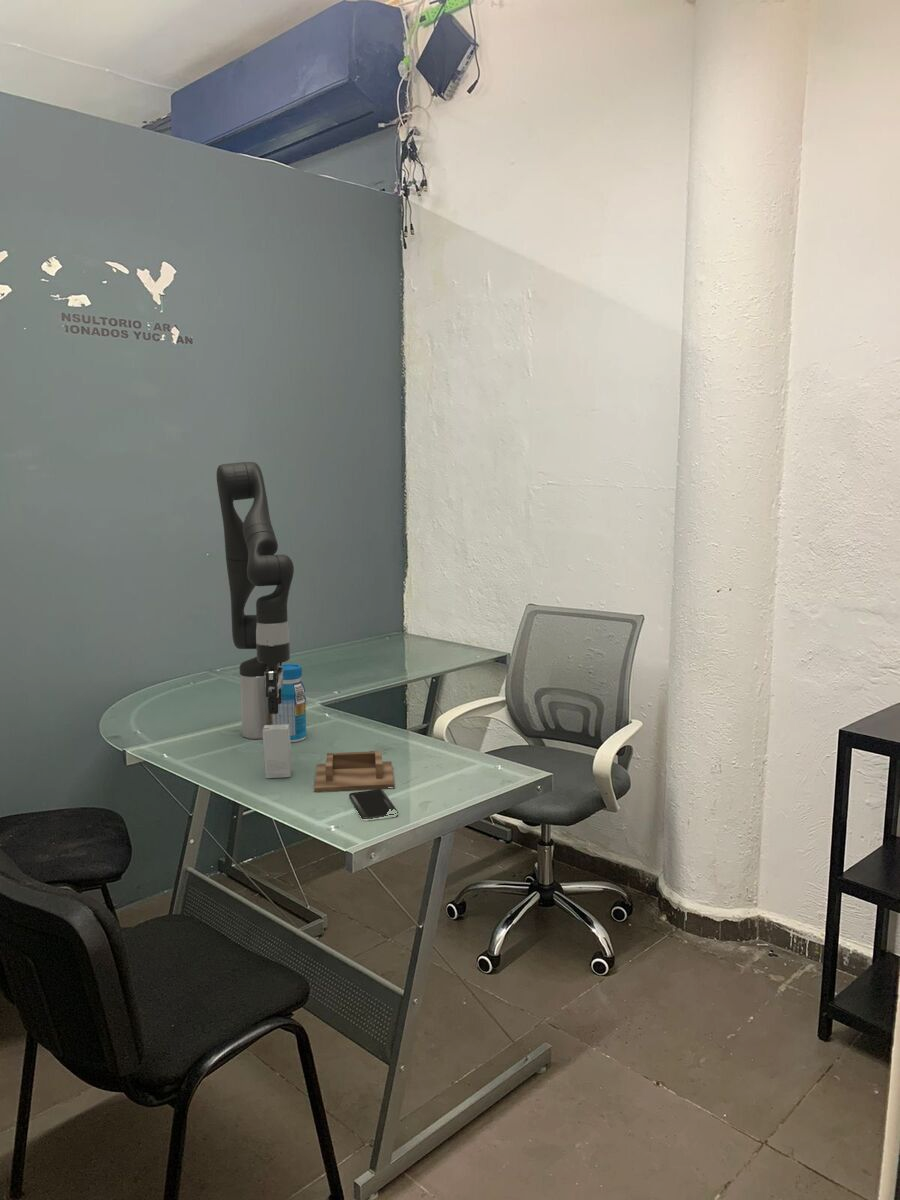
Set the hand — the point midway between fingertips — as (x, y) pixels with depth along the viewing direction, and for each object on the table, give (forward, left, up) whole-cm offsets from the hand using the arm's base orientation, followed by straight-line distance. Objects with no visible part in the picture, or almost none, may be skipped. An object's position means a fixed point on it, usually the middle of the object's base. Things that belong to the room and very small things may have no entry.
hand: (275, 708), depth 203 cm
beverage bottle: (-29, +1, -17) cm, 33 cm away
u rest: (+4, +18, -16) cm, 25 cm away
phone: (+22, +22, -17) cm, 35 cm away
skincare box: (0, 0, -17) cm, 17 cm away
